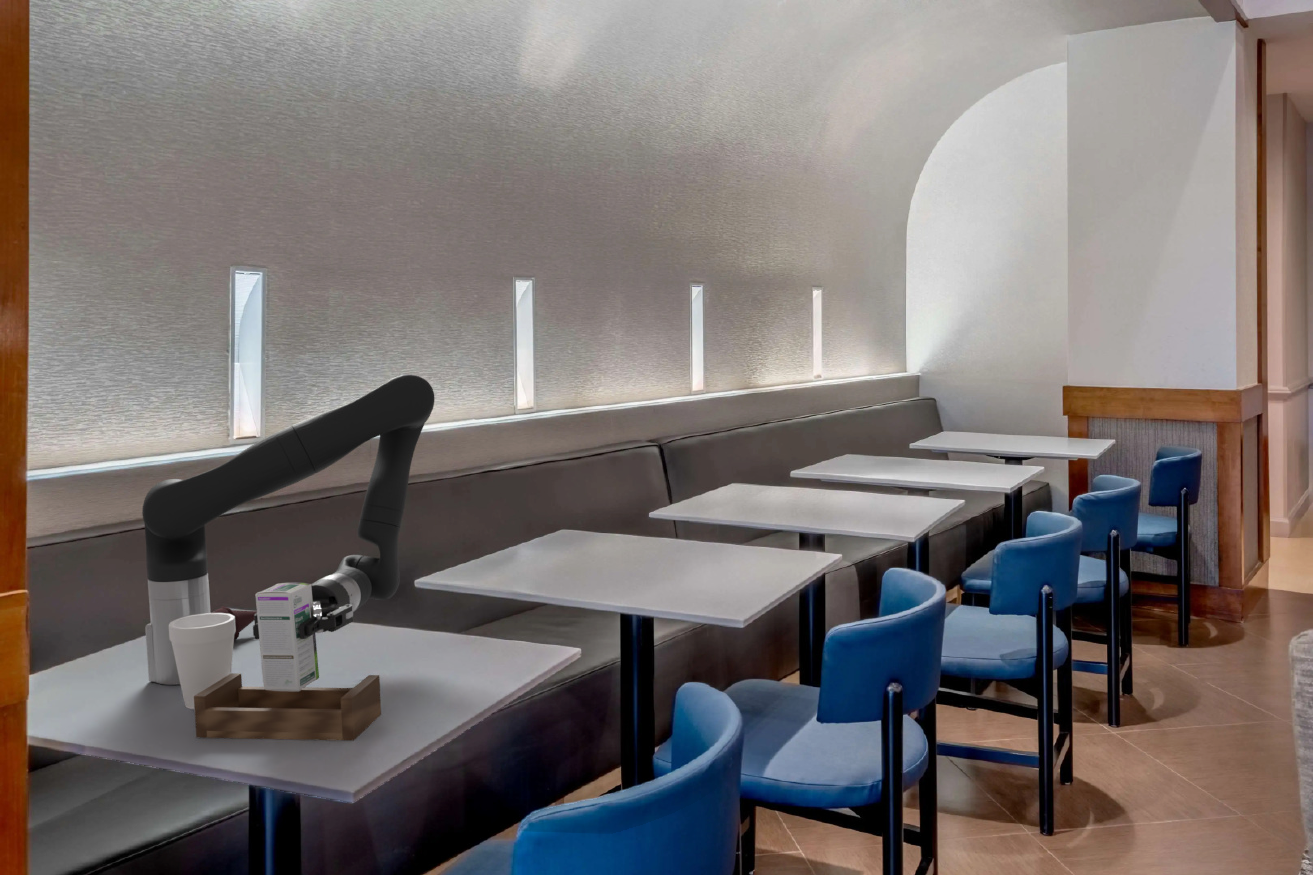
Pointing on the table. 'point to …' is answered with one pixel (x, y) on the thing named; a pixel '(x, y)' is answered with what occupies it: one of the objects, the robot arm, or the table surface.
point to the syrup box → (286, 637)
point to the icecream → (238, 618)
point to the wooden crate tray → (286, 711)
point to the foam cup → (202, 651)
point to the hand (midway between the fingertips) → (279, 632)
